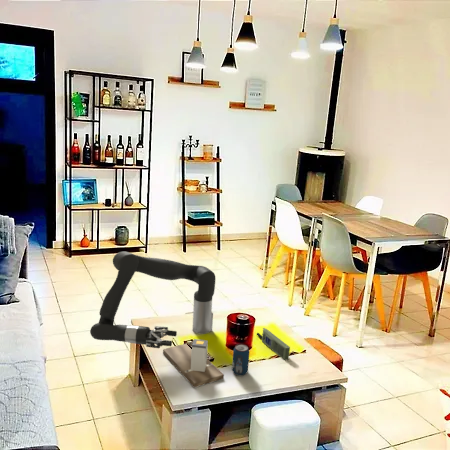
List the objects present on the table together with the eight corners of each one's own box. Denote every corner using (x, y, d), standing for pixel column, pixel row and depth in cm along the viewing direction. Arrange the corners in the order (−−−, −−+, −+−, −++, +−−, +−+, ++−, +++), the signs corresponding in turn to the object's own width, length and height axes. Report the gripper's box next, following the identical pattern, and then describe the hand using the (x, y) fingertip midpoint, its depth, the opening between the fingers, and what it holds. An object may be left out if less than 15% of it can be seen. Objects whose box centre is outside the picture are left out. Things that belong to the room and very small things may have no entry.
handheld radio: (283, 361, 215) (254, 336, 236) (289, 360, 216) (259, 335, 237) (285, 348, 213) (255, 324, 234) (291, 346, 215) (261, 323, 236)
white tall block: (192, 363, 204) (194, 338, 201) (206, 365, 203) (207, 340, 200) (190, 370, 199) (191, 344, 196) (204, 371, 198) (205, 346, 195)
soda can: (244, 366, 208) (246, 342, 205) (250, 375, 202) (252, 350, 199) (229, 368, 206) (231, 344, 203) (235, 377, 199) (236, 352, 196)
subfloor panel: (190, 346, 222) (190, 342, 222) (223, 378, 198) (223, 374, 198) (163, 353, 215) (163, 348, 214) (194, 387, 191) (194, 382, 190)
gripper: (132, 334, 195) (170, 338, 193) (142, 319, 208) (178, 323, 206) (132, 350, 197) (170, 355, 195) (142, 334, 210) (177, 338, 208)
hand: (174, 338), depth 200 cm, fingers open, 8 cm apart
